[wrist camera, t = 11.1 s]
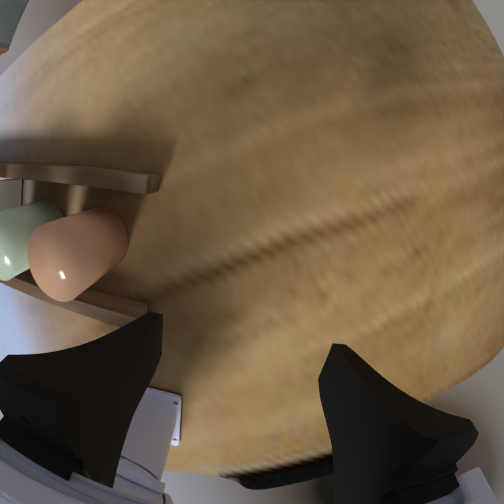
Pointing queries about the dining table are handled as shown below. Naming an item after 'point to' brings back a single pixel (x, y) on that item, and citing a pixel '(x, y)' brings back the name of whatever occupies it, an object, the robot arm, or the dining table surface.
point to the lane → (123, 180)
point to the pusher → (10, 193)
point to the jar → (76, 251)
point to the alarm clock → (9, 20)
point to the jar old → (21, 234)
